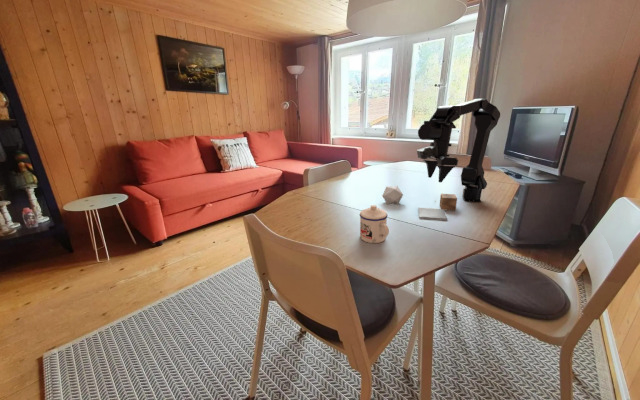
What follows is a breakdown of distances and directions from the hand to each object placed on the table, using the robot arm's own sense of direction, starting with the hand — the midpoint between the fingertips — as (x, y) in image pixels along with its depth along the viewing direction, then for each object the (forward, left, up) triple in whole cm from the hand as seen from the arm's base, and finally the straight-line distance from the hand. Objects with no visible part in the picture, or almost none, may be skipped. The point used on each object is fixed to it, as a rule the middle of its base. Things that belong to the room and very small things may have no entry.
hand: (434, 179), depth 104 cm
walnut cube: (-7, -5, -14) cm, 16 cm away
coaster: (0, +4, -14) cm, 14 cm away
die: (+16, -7, -14) cm, 22 cm away
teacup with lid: (+20, +30, -14) cm, 39 cm away
